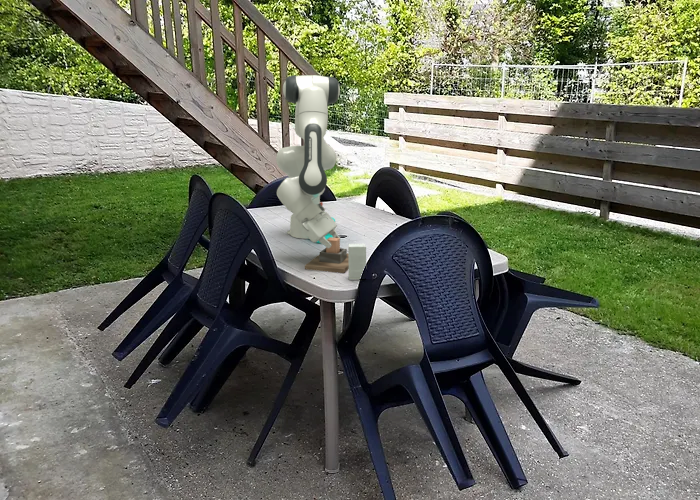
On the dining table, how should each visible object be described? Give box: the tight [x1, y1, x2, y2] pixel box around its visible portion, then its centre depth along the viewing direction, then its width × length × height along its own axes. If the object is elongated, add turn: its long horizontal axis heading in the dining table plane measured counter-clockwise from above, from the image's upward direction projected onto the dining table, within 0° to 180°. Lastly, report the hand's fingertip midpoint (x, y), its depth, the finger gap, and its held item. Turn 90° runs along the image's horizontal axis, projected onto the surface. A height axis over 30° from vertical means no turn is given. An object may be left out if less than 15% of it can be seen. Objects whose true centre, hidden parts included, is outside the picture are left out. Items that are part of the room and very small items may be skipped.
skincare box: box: [347, 243, 367, 281], centre depth 220 cm, size 6×4×12 cm
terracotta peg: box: [325, 237, 341, 253], centre depth 237 cm, size 4×4×8 cm
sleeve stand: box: [304, 247, 349, 274], centre depth 238 cm, size 20×15×5 cm
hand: (334, 243), depth 236 cm, fingers open, 8 cm apart
